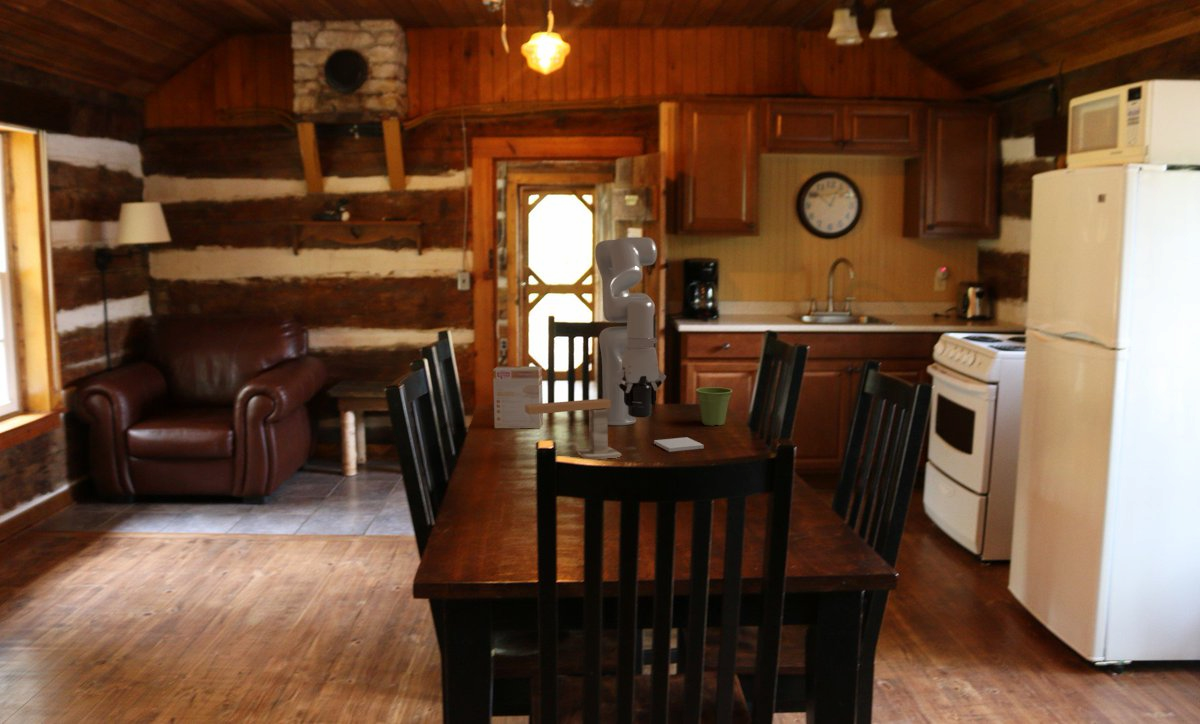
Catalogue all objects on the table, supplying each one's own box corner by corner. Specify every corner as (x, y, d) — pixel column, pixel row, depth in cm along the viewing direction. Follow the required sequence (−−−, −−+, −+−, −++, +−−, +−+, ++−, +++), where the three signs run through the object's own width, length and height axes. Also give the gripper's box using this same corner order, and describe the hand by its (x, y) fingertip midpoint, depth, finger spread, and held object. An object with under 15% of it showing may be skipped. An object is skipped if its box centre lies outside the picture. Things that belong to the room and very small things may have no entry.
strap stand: (576, 453, 285) (575, 406, 283) (608, 450, 289) (608, 404, 287) (588, 461, 276) (587, 413, 274) (621, 457, 279) (621, 410, 277)
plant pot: (730, 428, 317) (731, 393, 315) (693, 427, 319) (693, 392, 317) (733, 420, 328) (733, 387, 327) (697, 419, 331) (697, 386, 329)
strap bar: (525, 411, 275) (524, 404, 274) (605, 405, 283) (605, 398, 283) (529, 414, 271) (529, 407, 271) (610, 407, 279) (610, 400, 279)
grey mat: (653, 443, 296) (653, 440, 296) (687, 440, 300) (687, 437, 300) (669, 451, 286) (669, 448, 286) (703, 448, 290) (703, 444, 290)
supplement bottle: (632, 418, 282) (632, 377, 280) (625, 413, 288) (625, 372, 286) (654, 417, 284) (655, 375, 281) (647, 411, 290) (647, 371, 288)
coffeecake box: (543, 424, 325) (542, 365, 322) (540, 429, 318) (538, 369, 315) (498, 424, 326) (497, 365, 324) (494, 428, 319) (492, 369, 317)
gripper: (662, 339, 289) (662, 399, 292) (607, 343, 283) (607, 404, 286) (673, 343, 282) (672, 404, 285) (616, 347, 276) (616, 409, 279)
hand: (640, 404), depth 285 cm, fingers closed on supplement bottle, 6 cm apart
